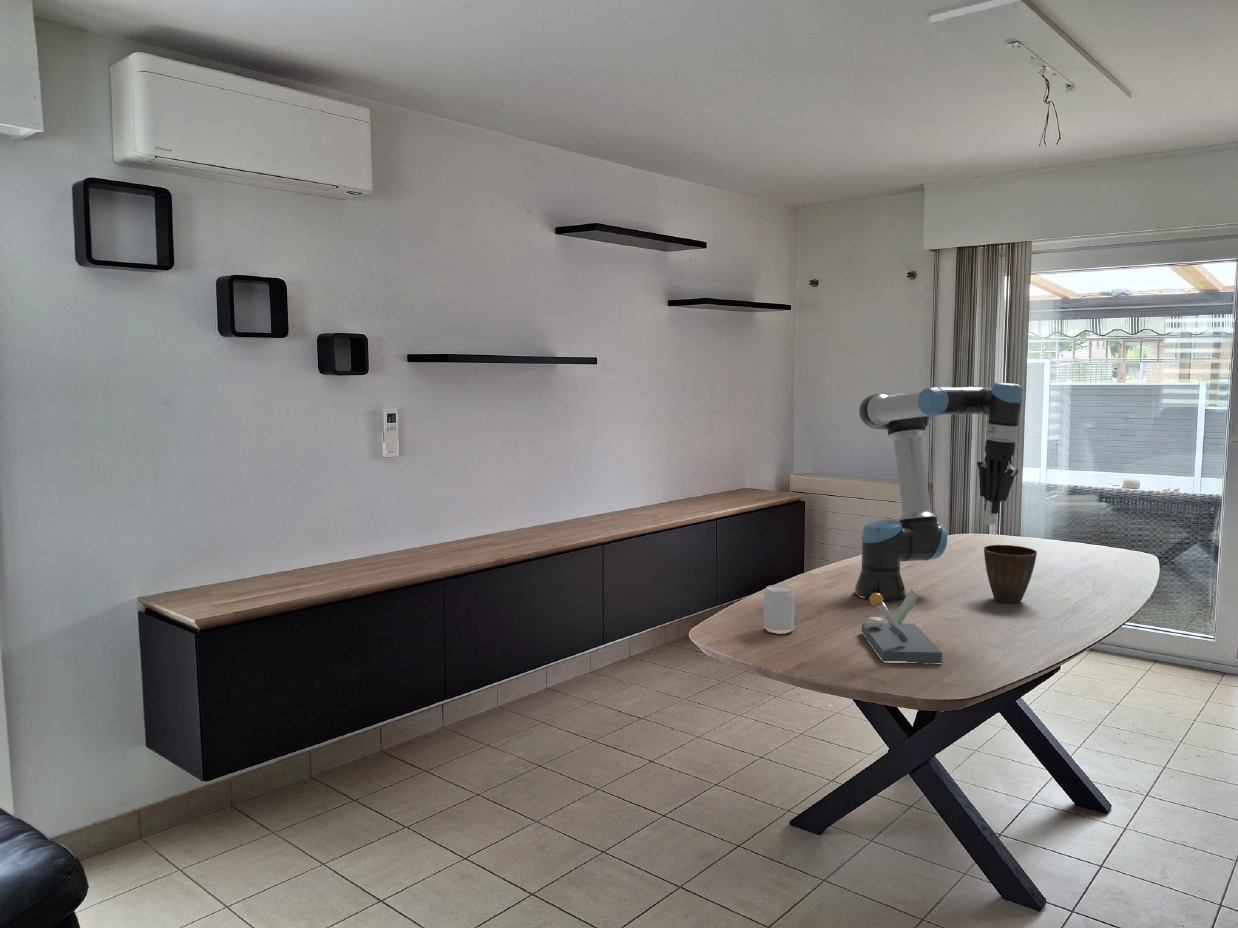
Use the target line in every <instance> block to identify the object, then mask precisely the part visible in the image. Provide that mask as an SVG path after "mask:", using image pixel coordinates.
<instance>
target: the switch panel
mask: <svg viewBox="0 0 1238 928" xmlns="http://www.w3.org/2000/svg"><path fill="white" fill-rule="evenodd" d="M900 627H901V629H902V630H903V632H904V633H905V635H906V636H907V637H908V640H907V641H906V642H904V643H902V642H901V640H900V639H899V637H898V636H897V634H896V633H895V632H894V630H893V629H892V627H891V626H890V624H889V623H888V622H886V623H885V622H883V627H871V626H869V622H861V633H862V632H863V634H864V635H865V636H866V638H867V640H868V641H869V642H870V643H871V645H872V646H873V648H874V649H875V650H876V652H877V653H878V654H879V656H880V657H881V658H882V660H883V661H907V662H917V663H942V664H943V652H942V650H940V649H939V648H938V646H936V644H935V643H934V642H933V641H932V640H931V639H930V638H929V637H928V636H927V635H926V634H925V633H924V632H923V630H922V629H920V628H919V626H917V624H916V623H903V622H902V623H901V625H900ZM867 640H866V641H867Z"/></svg>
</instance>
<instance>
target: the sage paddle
mask: <svg viewBox="0 0 1238 928" xmlns="http://www.w3.org/2000/svg"><path fill="white" fill-rule="evenodd" d="M919 597H920V594H919V593H918V592H917V591H915V590H914V588H911V589H910V591H909V592H908V593H907V595H906V596H905V598H904V600H903V601H902V603H901V605H899V608H898V609H897V611H896V612H895V614H894V615H893V617H894V619H895V620H896V622H897V623H898V625H899V626H900V625H901V623H903V621H904V620H905V618H906V617H907V615H908V613H910V610H911V609H912V607H913V606H914V604H915V603H916V601H917V600H918V598H919Z"/></svg>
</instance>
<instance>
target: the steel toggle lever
mask: <svg viewBox="0 0 1238 928" xmlns="http://www.w3.org/2000/svg"><path fill="white" fill-rule="evenodd" d="M869 602H870V604H871V605H872V606H875V607H877V609H878V610H879V612H881V615H883V617H884V618H885V620H886V621H887V622H886V623H889V624H890V626H891V627H892V629H893V630H894V632H895V633H896V634H897V636H898V637H899V639H900V640H901V642H902V643H904V642H906V641H907V640H908V637H907V636H906V635H905V633H904V632H903V630H902V629H901V627H900V626H899V625H898V623H897V622H896V620H895V619H894V615H892V613H891V612H890V610H889V609H888V608H887V606H886V605H885V603H884V601H883V597H882V595H881V594H879V593H873V594H872V595H871V596H870V599H869Z"/></svg>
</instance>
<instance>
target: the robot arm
mask: <svg viewBox="0 0 1238 928" xmlns="http://www.w3.org/2000/svg"><path fill="white" fill-rule="evenodd" d="M1022 402H1023V386H1022V385H1021V384H1018V383H1009V382H995V383H993V386H992V388H990V387H984V386H982V385H971V386H970V385H969V386H967V387H966V386H965V387H964V386H963V387H939V386H935V387H926V388H923V389H922V390H918V391H913V392H901V393H898V392H897V393H896V392H895V393H875V394H870V395H868V396H867V397H865V398H864V399H863V400H862V401H861V403H860V405H859V409H858V413H859V414H858V415H859V418H860V420H861V421H862V422H863V424H864V425H865V426H867V427H869V428H871V429H874V430H887V435H888V437H889V438H890V439H891V440H892V441H893V445H894V452H895V460H896V461H895V463H896V468H897V470H896V471H897V478H898V487H899V495H900V502H901V503H900V504H901V511H902V514H901V516H900V517H899V519H898V520H895V519H879V520H873V521H870V522H868V523H866V524H864V527H863V528H862V536H861V540H862V543H861V569H860V572H859V576H858V579H857V582H856V584H855V587H854V588H855V589H854V594H855V593H857V595H860V596H863V597H865V598H870V596H871V595H872V594H873V593H879V594H881V595H882V597H883V600H885V601H884V602H893V601H894V600H896V601H901V600H903V599H905V598H906V588H905V585H904V581H903V579H902V575H901V563H902V562H915V561H919V562H920V561H930V560H936V559H939V558H940V557H941V556H942V555H943V554H944V551H946V548H947V546H948V532H947V529H946V528H945V526H944V524H942V523H940V522H938V518H937V515H936V514H935V513H933V512H932V510H931V502H930V494H929V486H928V479H927V472H926V471H927V469H926V465H925V464H926V461H925V455H924V446H923V439H922V438H923V437H924V435H925V434H926V432H927V431H926V429H927V428H928V427H929V426H930V423H931V422H932V421H931V420H932V417H933V416H940V415H941V416H943V415H985V416H988V421H987V430H986V437H987V439H986V440H985V444H984V450H983V451H984V453H986V454H985V457H984V459H983V460H979V461H977V462H976V464H977V468H978V475H979V476H978V477H979V479H978V480H979V496H980V497H983V498H984V511H985V513H984V518H983V524H984V525H986V526H988V525H989V526H990V525H991V526H992V525H993V526H995V525H996V524H997V522H996V521H997V517H998V515H997V514H999V511H1000V504H1001V503H1002V502H1007V499H1008V497H1009V494H1010V491H1011V489H1012V485H1013V483H1014V479H1015V476H1017V474H1018V472H1019V469H1018V468H1015V467H1014V466H1013V462H1012V461H1013V460H1012V457H1013V456H1014V455H1015V449H1016V443H1015V441H1016V440H1017V438H1018V437H1017V435H1018V427H1019V422H1020V413H1021V408H1022ZM857 595H856V596H857ZM865 598H864V599H865ZM900 599H901V600H900ZM892 600H893V601H892Z"/></svg>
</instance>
